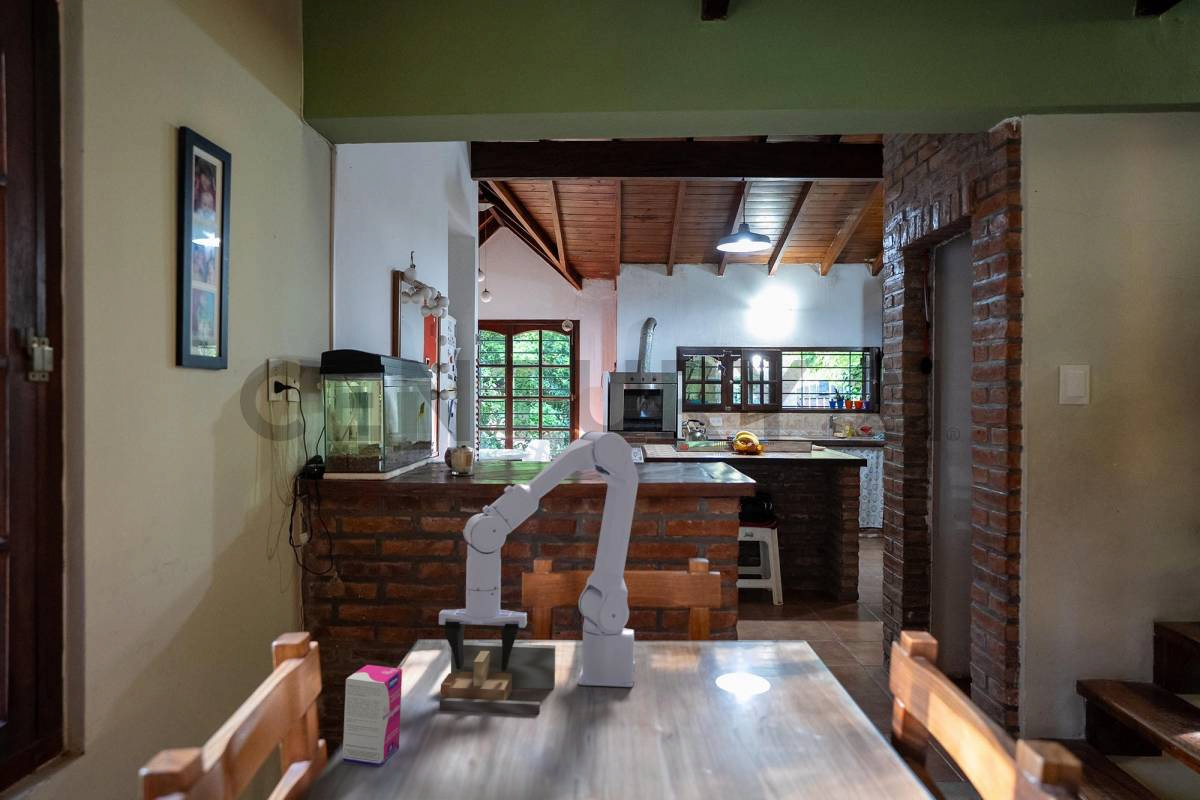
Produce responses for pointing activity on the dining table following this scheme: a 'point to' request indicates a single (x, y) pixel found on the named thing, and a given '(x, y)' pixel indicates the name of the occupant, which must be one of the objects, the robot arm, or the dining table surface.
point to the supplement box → (372, 715)
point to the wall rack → (525, 664)
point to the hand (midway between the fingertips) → (482, 667)
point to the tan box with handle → (481, 682)
